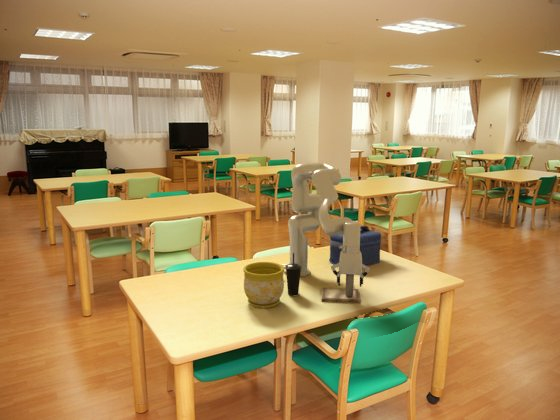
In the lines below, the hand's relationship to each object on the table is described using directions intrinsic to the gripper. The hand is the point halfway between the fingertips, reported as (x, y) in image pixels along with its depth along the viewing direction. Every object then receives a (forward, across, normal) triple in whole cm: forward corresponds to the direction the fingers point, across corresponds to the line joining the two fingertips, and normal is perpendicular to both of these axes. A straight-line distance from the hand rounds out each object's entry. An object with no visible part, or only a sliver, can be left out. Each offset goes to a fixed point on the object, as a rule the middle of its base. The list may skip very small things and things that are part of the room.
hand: (349, 285), depth 199 cm
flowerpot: (+7, -38, -9) cm, 40 cm away
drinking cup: (+7, -26, +3) cm, 27 cm away
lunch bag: (+7, +5, +56) cm, 57 cm away
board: (+7, -4, +3) cm, 9 cm away
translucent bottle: (+6, 0, 0) cm, 6 cm away
